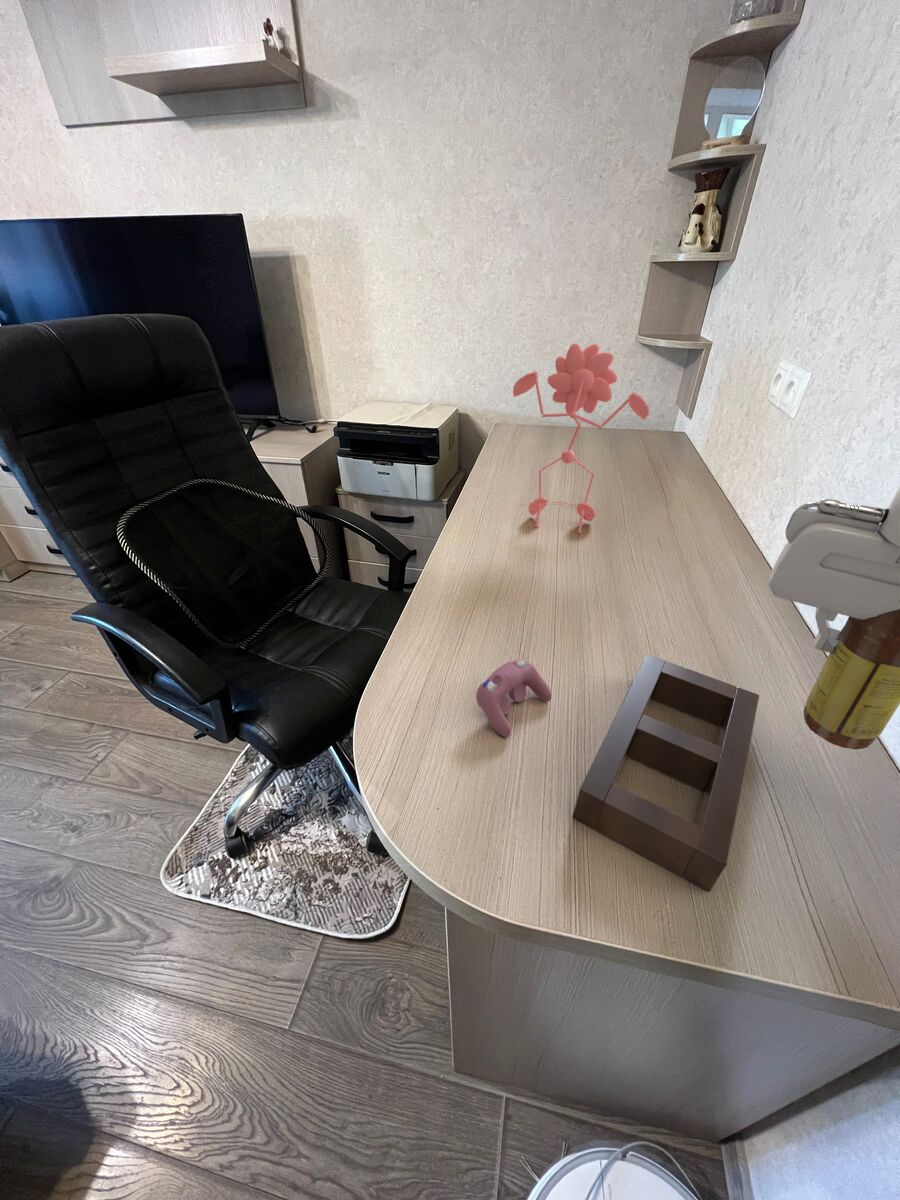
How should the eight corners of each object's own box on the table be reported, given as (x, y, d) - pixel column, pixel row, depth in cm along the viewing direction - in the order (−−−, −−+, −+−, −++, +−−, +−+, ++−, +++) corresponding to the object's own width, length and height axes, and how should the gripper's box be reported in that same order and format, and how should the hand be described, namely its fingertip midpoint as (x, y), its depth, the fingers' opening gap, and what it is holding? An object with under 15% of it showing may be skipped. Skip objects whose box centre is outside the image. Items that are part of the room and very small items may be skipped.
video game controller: (530, 694, 69) (516, 648, 67) (556, 699, 65) (542, 651, 64) (481, 733, 63) (465, 685, 62) (507, 741, 60) (491, 690, 58)
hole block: (745, 722, 63) (759, 694, 61) (709, 892, 46) (727, 864, 44) (638, 680, 69) (646, 653, 66) (571, 817, 52) (579, 789, 50)
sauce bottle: (877, 726, 50) (1000, 551, 39) (866, 764, 46) (999, 582, 35) (803, 694, 54) (896, 526, 43) (788, 727, 50) (885, 551, 39)
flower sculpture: (620, 541, 103) (664, 354, 83) (497, 524, 109) (511, 345, 88) (621, 511, 115) (659, 341, 95) (510, 497, 121) (524, 334, 101)
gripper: (798, 506, 40) (741, 641, 48) (1179, 581, 31) (1032, 732, 39) (802, 482, 44) (749, 609, 52) (1137, 541, 35) (1012, 684, 43)
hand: (871, 662), depth 45 cm, fingers closed on sauce bottle, 6 cm apart
